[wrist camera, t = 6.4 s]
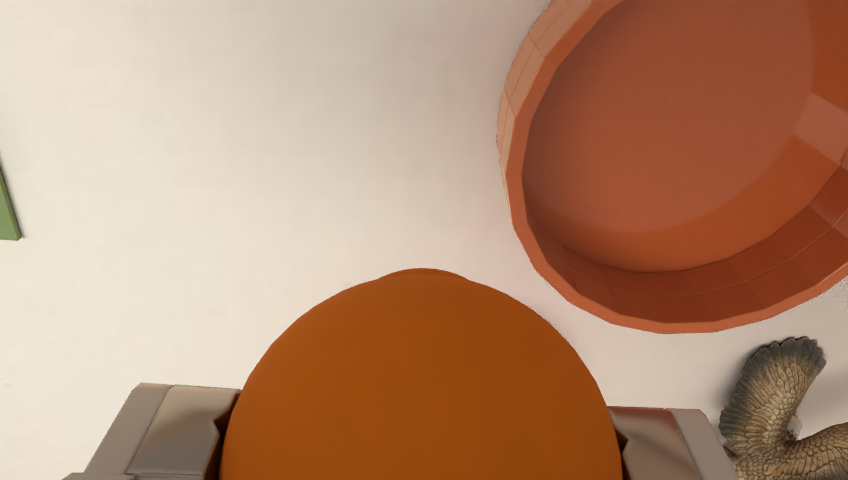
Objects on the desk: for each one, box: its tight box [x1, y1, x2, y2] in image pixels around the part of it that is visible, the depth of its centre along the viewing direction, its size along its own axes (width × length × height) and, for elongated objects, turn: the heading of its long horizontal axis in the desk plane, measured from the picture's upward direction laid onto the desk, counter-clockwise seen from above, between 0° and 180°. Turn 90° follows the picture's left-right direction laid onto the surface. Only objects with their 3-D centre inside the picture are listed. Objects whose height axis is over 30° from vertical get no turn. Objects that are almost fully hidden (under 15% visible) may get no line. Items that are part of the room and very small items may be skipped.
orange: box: [219, 268, 623, 480], centre depth 9 cm, size 6×6×6 cm
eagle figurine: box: [719, 337, 848, 480], centre depth 31 cm, size 8×7×9 cm
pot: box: [497, 0, 848, 334], centre depth 24 cm, size 16×16×4 cm
